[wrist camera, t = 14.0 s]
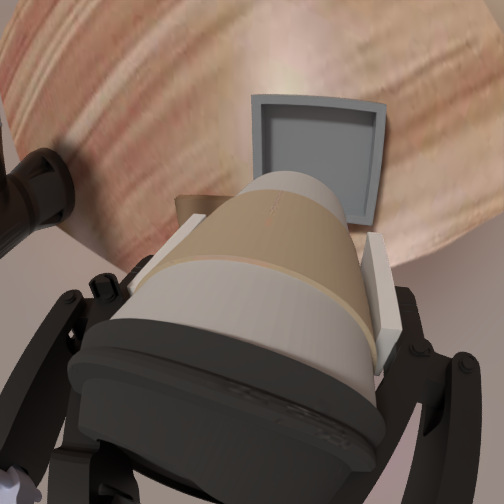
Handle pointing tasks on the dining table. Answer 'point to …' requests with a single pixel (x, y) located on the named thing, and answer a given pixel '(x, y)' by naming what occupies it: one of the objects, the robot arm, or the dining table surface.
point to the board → (197, 205)
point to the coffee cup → (243, 355)
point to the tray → (323, 145)
